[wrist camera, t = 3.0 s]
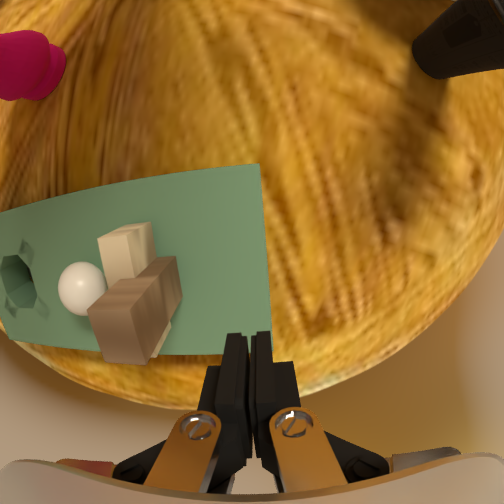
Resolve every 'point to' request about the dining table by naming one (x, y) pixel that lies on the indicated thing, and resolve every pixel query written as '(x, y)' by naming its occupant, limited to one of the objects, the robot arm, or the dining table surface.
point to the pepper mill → (29, 65)
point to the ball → (81, 287)
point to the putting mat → (166, 244)
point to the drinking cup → (463, 40)
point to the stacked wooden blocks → (134, 296)
